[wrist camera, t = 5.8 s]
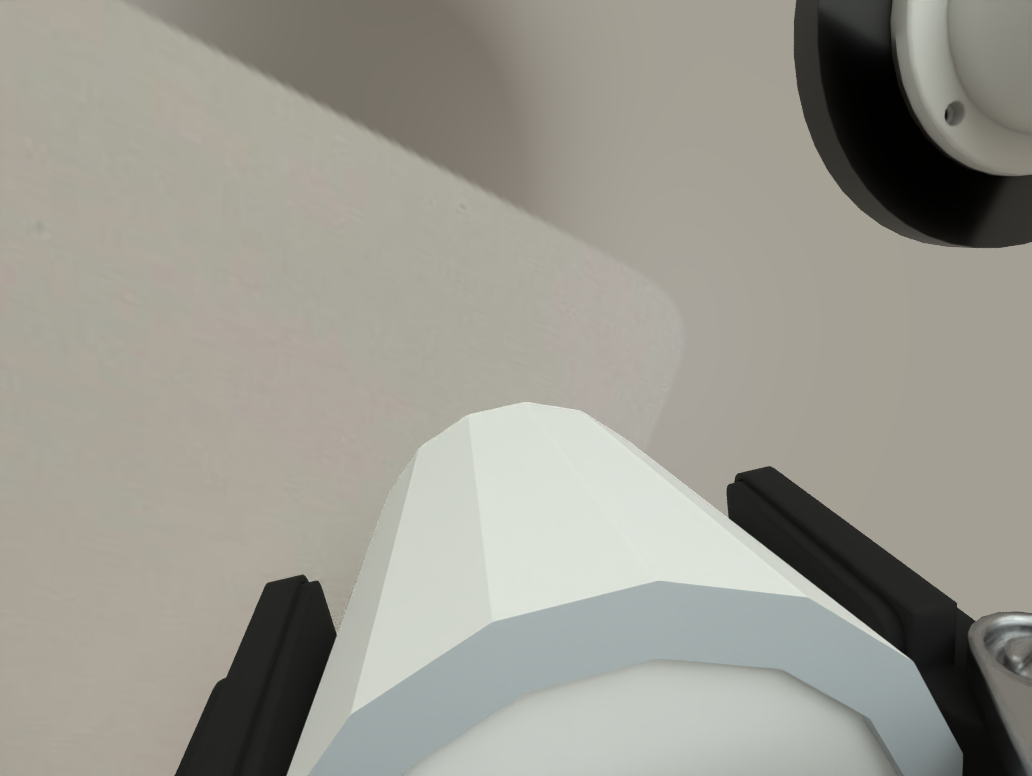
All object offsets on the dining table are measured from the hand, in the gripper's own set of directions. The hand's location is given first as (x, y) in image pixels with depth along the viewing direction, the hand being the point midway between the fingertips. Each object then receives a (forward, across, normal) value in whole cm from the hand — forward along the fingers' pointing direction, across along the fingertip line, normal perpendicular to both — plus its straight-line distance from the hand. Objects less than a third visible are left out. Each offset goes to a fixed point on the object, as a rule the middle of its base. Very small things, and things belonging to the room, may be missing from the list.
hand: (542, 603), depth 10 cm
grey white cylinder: (+2, 0, 0) cm, 2 cm away
